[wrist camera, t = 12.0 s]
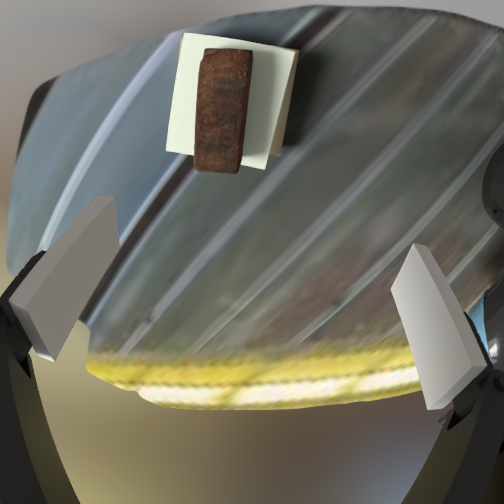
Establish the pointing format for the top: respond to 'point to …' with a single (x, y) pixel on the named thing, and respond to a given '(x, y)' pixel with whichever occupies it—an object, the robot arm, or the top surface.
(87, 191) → the top surface
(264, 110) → the top block
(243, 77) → the brick
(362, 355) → the top surface
